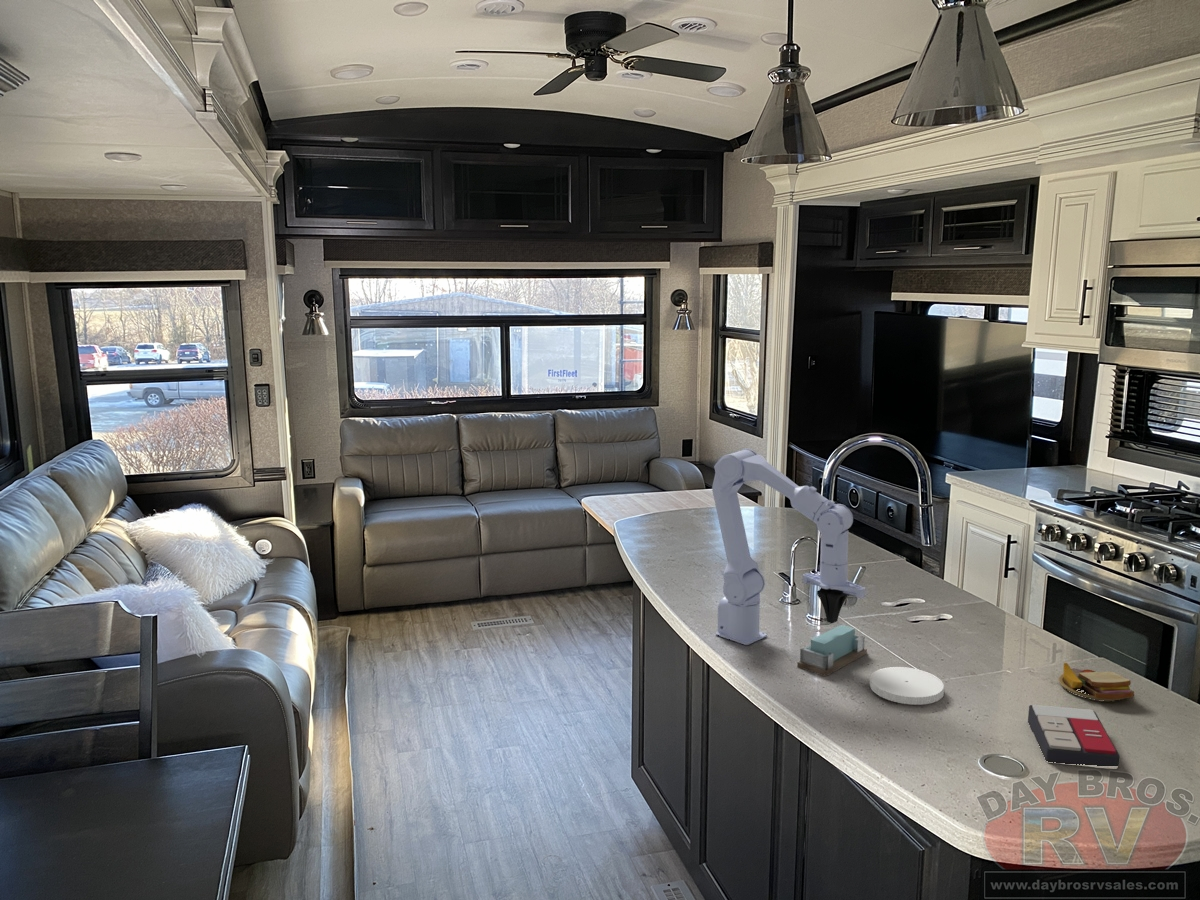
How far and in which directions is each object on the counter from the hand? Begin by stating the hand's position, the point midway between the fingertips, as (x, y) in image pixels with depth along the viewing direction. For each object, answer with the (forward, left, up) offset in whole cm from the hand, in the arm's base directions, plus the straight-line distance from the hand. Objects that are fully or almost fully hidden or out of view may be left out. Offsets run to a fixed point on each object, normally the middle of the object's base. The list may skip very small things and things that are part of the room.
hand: (832, 621), depth 192 cm
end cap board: (+1, -1, -9) cm, 9 cm away
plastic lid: (+20, -4, -9) cm, 22 cm away
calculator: (+50, -3, -9) cm, 51 cm away
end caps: (+1, -1, -9) cm, 9 cm away
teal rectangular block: (+1, 0, -8) cm, 8 cm away
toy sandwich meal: (+46, +23, -9) cm, 52 cm away
